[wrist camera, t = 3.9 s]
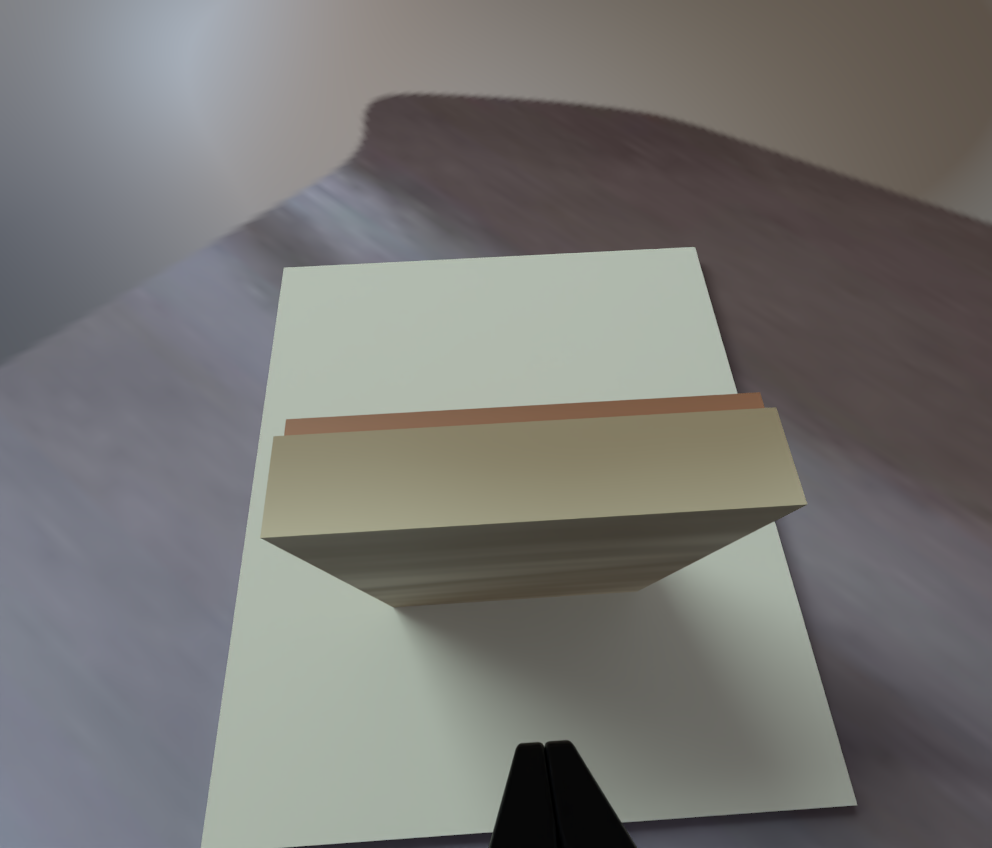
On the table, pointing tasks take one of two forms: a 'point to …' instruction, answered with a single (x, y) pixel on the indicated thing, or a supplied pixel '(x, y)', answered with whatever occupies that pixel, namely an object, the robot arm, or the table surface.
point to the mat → (506, 623)
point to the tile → (526, 495)
